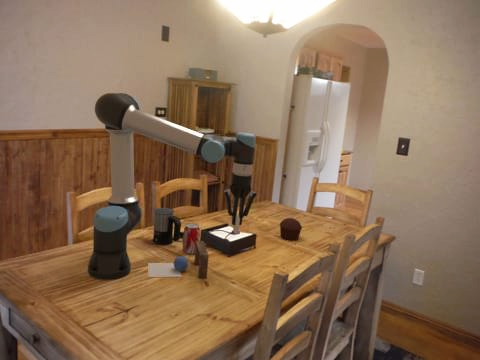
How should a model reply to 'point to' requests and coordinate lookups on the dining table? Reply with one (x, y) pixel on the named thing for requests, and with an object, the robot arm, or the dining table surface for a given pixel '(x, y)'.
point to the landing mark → (162, 270)
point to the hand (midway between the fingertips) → (235, 232)
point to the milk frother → (166, 226)
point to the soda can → (190, 237)
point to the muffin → (290, 229)
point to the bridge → (201, 259)
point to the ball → (180, 263)
